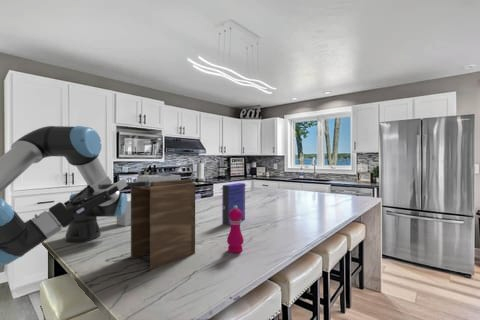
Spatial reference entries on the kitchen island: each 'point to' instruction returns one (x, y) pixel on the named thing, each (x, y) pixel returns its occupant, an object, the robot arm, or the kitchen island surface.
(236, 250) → the pepper mill
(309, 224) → the kitchen island surface
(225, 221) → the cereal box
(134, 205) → the stand
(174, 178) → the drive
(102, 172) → the robot arm
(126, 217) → the supplement box
